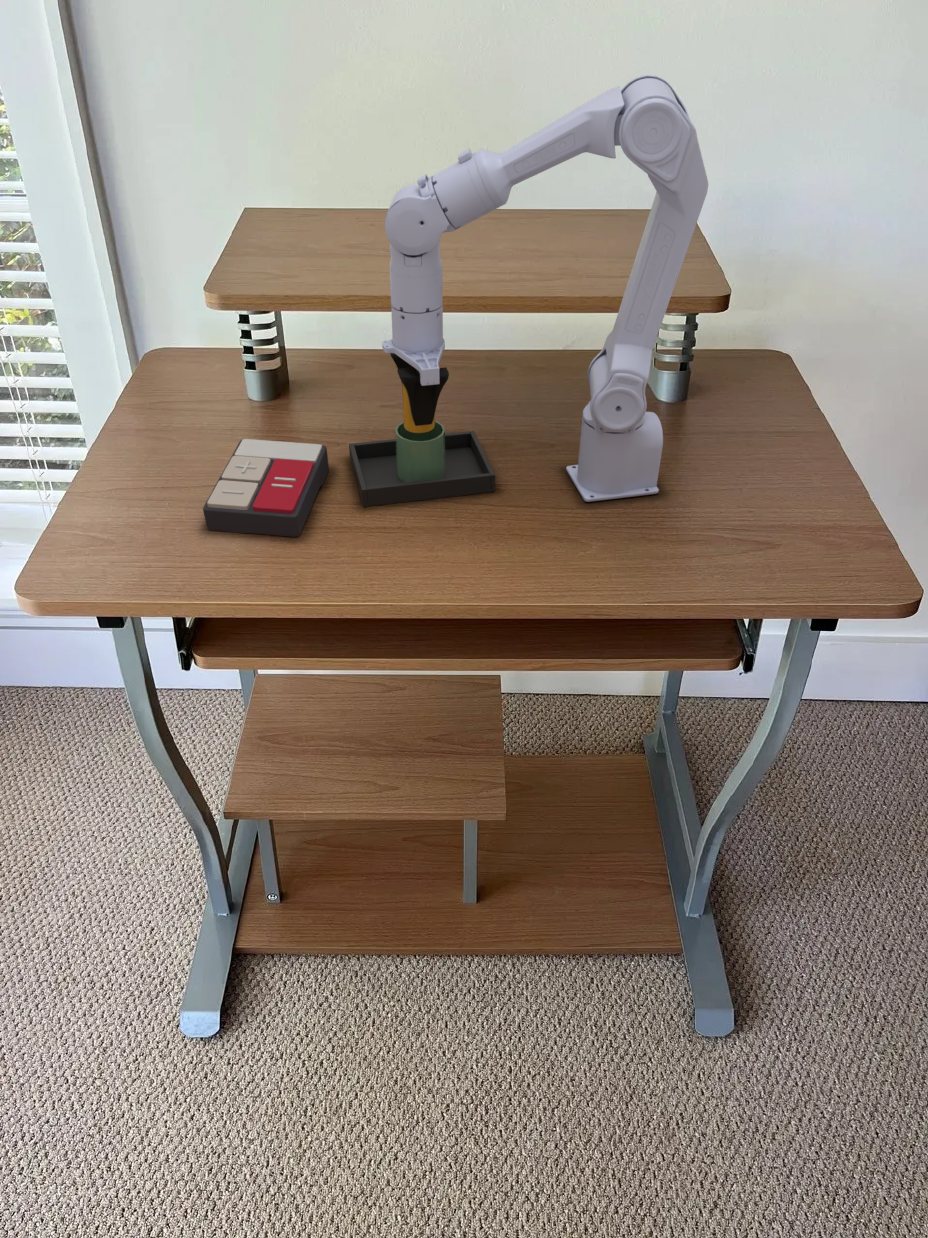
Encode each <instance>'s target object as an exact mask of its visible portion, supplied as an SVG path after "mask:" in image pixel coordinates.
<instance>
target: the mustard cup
mask: <svg viewBox="0 0 928 1238" xmlns="http://www.w3.org/2000/svg"><path fill="white" fill-rule="evenodd" d="M401 389H402V390H401V391H402V419H403V421H402V422H403V423H404V428H405V429H406V430H408V431H410V432H413V433H425V432H428V431H431V430H432V429H433V428H434V427H435V421H436V414H435V415H434V419H433V422H432V424H429V425H419V426H415V424H414V421H413V418H412V414H411V409H410V404H409V398H408V394H407V391H406V388H405V386H404V385H403V383H402V382H401Z"/></svg>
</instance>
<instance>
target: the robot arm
mask: <svg viewBox="0 0 928 1238" xmlns="http://www.w3.org/2000/svg"><path fill="white" fill-rule="evenodd" d="M699 143H700V142H699V140H698V133H697V129H696V127H695V125H694V123H693V121H691V118H690V115H689V113H688V110H687V108H686V106H685V104H684V103H683V101H682V100H681V99H680V97H679V95H678V94H677V93H676V91H675V90H674V88H673V86H672V85H671V84H670V82H668V81H667V80H665V79H664V78H662V77H660V76H658V75H654V74H644V75H640V76H636V77H635V78H633V79H631V80H629V81H628V82H627V83H626V84H625V85H624V86H623V87H622V88H621V86H620V85H619V86H615V87H612V88H609V89H607V90H605V91H604V92H601V93H600V94H598V95H596V96H595V97H593V98H591V99H589V100H588V101H586V102H584V103H582V104H581V105H579V106H577V107H575V108H574V109H573V110H571V111H569V112H567V113H566V114H564V115H562V116H561V117H559V118H557V119H555V120H554V121H552V122H551V123H549V124H547V125H546V126H544V127H543V128H541V129H538V130H537V131H536V132H534V133H533V134H531V135H529V136H527V137H525V138H524V139H522V140H520V141H519V142H517V143H516V144H514V145H513V146H511V147H509V148H507V149H506V150H504V151H502V152H495V151H491V150H488V149H486V148H480V149H478V150H477V151H474V152H472V150H471V148H466V149H464V150H463V151H461V152H459V153H458V156H457V162H455V163H453V164H451V165H449V166H447V167H445V168H443V169H442V170H440V171H439V172H436V173H435V174H433V175H431V176H428V174H427V173H424V174H423V175H420V176H418V177H417V180H416V183H410V184H407V185H405V186H403V187H401V188H399V189H398V190H397V191H396V192H395V194H394V196H393V198H392V200H391V202H390V204H389V207H388V209H387V213H386V215H385V220H384V231H385V235H386V238H387V240H388V242H389V255H390V260H389V284H390V285H389V288H390V311H391V313H390V314H391V329H392V333H391V334H392V335H391V336H392V338H391V339H388V340H383V341H382V342H381V345H382V346H381V347H382V350H383V352H384V353H385V354H390V357H391V359H392V360H393V362H394V364H395V366H396V368H397V369H396V370H397V371H396V372H397V375H398V377H399V379H400V382H401V384H402V383H403V385H404V386H405V388H406V391H407V394H408V398H409V404H410V409H411V414H412V418H413V421H414V424H415V426H419V425H429V424H432V422H433V419H434V415H435V416H436V411H437V406H438V402H439V398H440V395H441V393H442V390H443V388H444V386H445V385H446V383H447V382H448V380H449V376H450V372H449V370H448V368H447V366H446V367H440V363H441V360H442V357H443V355H444V352H445V348H446V341H445V339H444V323H443V322H444V303H443V302H444V301H443V299H444V296H443V294H444V293H443V260H442V258H441V237H442V235H443V234H445V233H452V232H455V231H456V230H459V229H461V228H462V227H464V226H466V225H467V224H471V223H472V222H474V221H475V220H478V219H480V218H482V217H483V216H486V215H488V214H489V213H491V212H493V211H495V210H497V209H499V208H501V207H502V206H504V205H506V204H507V202H508V200H509V197H510V194H511V191H512V188H513V187H514V186H515V185H517V184H521V183H522V182H525V181H526V180H528V179H530V178H532V177H534V176H537V175H538V174H540V173H543V172H545V171H547V170H550V169H552V168H553V167H554V168H555V167H556V166H558V165H560V164H562V163H564V162H566V161H569V160H570V159H573V158H575V157H578V156H579V155H582V154H583V153H584V154H585V153H589V154H592V155H596V156H601V157H604V158H608V159H614V160H615V159H616V158H617V156H616V155H617V154H616V147H617V146H619V147H620V148H621V150H622V152H623V154H624V155H625V156H626V158H627V159H629V161H631V162H632V164H634V165H635V166H636V167H637V168H639V169H640V170H641V171H643V172H644V173H645V174H647V177H648V179H649V181H650V182H651V184H652V186H653V187H654V189H655V191H656V192H655V195H654V198H653V201H652V205H651V207H650V210H649V213H648V217H647V220H646V223H645V227H644V230H643V233H642V236H641V238H640V239H641V240H640V241H639V246H638V249H637V252H636V255H635V258H634V262H633V263H632V267H631V271H630V274H629V277H628V280H627V284H626V287H625V290H624V293H623V296H622V299H621V303H620V306H619V309H618V312H617V315H616V318H615V322H614V325H613V328H612V330H611V331H610V333H608V335H607V336H606V338H605V341H604V344H603V347H602V348H601V350H600V351H599V352H598V354H597V355H596V356H595V357H593V359H592V360H591V362H590V364H589V366H588V369H587V382H588V385H589V394H590V400H589V402H588V403H586V405H585V407H584V408H583V410H582V416H581V427H580V428H581V429H580V440H579V447H578V448H579V450H578V461H577V464H573V465H567V466H566V468H565V471H566V472H567V475H568V476H569V477H570V479H571V481H572V482H573V484H574V486H575V487H576V489H577V491H578V493H579V495H580V496H581V498H582V499H583V501H584V502H586V503H590V502H599V501H607V500H616V499H623V498H624V499H625V498H631V497H632V498H633V497H641V496H649V495H657V494H659V493H660V492H659V491H660V489H659V487H658V479H659V475H660V467H661V462H662V461H661V460H662V453H663V447H664V432H663V426H662V422H661V420H660V418H659V416H658V415H657V413H655V412H653V411H647V408H648V402H647V397H646V389H647V384H648V382H649V378H650V374H651V373H650V371H651V363H652V357H653V356H652V355H653V349H654V347H655V343H656V341H657V339H658V335H659V333H660V330H661V327H662V324H663V320H664V318H665V315H666V312H667V310H668V307H669V304H670V301H671V297H672V295H673V292H674V289H675V286H676V283H677V282H678V281H677V280H678V278H679V276H680V272H681V269H682V266H683V263H684V262H685V261H684V260H685V258H686V255H687V252H688V249H689V246H690V243H691V241H692V237H693V235H694V232H695V229H696V227H697V223H698V221H699V217H700V214H701V212H702V209H703V206H704V204H705V200H706V197H707V194H708V189H709V178H708V175H707V172H706V167H705V163H704V159H703V155H702V152H701V148H700V144H699Z"/></svg>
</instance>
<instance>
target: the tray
mask: <svg viewBox="0 0 928 1238" xmlns="http://www.w3.org/2000/svg"><path fill="white" fill-rule="evenodd" d="M348 451H349V460H350V465H351V468H352V472H353V475H354V479H355V483H356V484H355V485H356V487H357V491H358V495H359V498H360V502H361V505H362V507H363V508H366V507H375V506H383V505H392V504H401V503H410V502H417V501H418V502H419V501H427V500H434V499H435V500H436V499H443V498H452V497H453V498H454V497H461V496H462V497H463V496H470V495H478V494H488V493H495V492H496V474H495V472H494V469H493V467H492V464H491V463H490V461H489V459H488V457H487V454H486V453H485V451H484V449H483V446H482V444H481V443H480V440H479V438H478V436H477V434H476V432H475V430H470V431H469V430H468V431H467V430H466V431H460V432H449V433H448V432H447V433H445V474H444V477H443V478H441V479H432V480H423V481H414V482H403V481H402V480H401V479H400V478H399V477H398V475H397V465H396V440H395V438H391V439H384V440H383V439H381V440H371V441H362V442H353V443H352V442H351V443H348Z"/></svg>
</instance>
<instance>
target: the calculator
mask: <svg viewBox="0 0 928 1238" xmlns="http://www.w3.org/2000/svg"><path fill="white" fill-rule="evenodd" d="M327 447H328V446H326V445H325V444H320V443H306V442H293V441H292V442H291V441H279V440H265V439H255V438H254V439H252V438H243V439H241V440H240V441H239V442H238V444H237V446H236V447H235V449H234V451H233V453H232V455H230V456H231V457H230V458H229V460H228V462H227V464H226V466H225V467H224V469H223V470H222V473H221V475H220V476H219V478H218V480H217V481H216V483H215V485H214V487H213V488H212V491H211V493H210V494H209V496H208V498H207V500H206V501H205V503H204V505H203V506H202V512H203V517H204V520H205V526H206V529H207V530H209V531H216V532H217V531H219V532H220V531H221V532H229V533H241V534H255V535H265V536H266V535H267V536H279V537H291V538H298V537H300V536H301V533H302V531H303V530H304V526H305V525H306V522H307V520H308V517H309V515H310V512H311V509H312V507H313V504H314V503H315V500H316V497H317V495H318V493H319V490H320V488H321V487H323V485H324V483H325V481H326V478H327V476H328V474H329V471H330V467H329V457H328V448H327Z"/></svg>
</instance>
